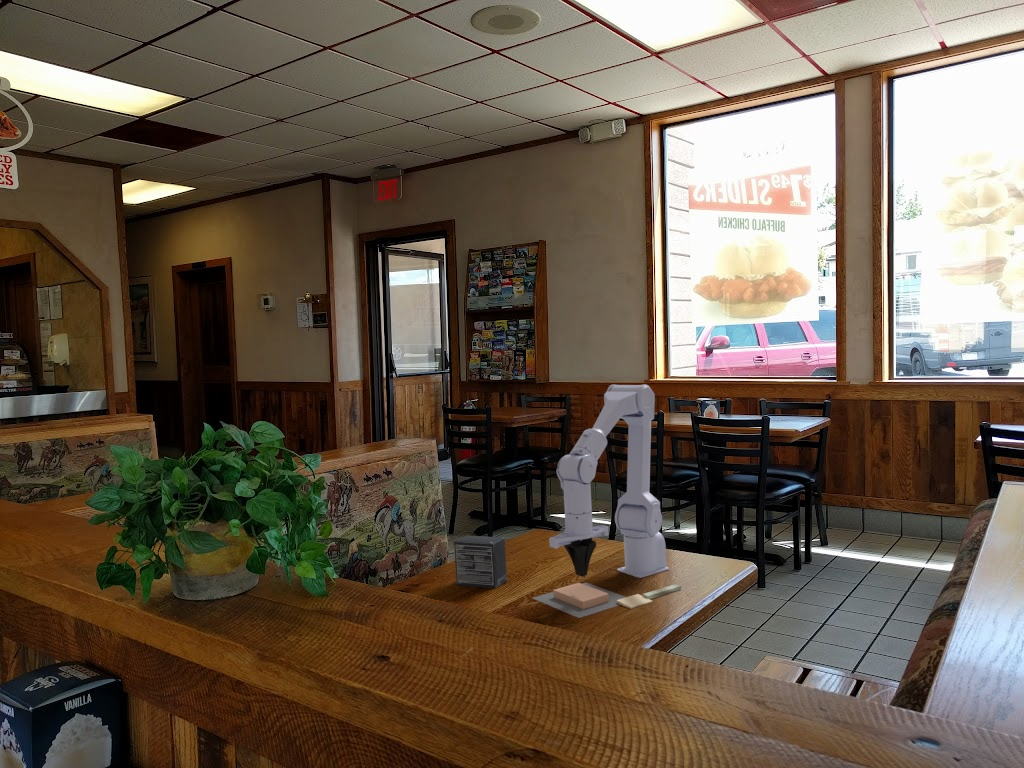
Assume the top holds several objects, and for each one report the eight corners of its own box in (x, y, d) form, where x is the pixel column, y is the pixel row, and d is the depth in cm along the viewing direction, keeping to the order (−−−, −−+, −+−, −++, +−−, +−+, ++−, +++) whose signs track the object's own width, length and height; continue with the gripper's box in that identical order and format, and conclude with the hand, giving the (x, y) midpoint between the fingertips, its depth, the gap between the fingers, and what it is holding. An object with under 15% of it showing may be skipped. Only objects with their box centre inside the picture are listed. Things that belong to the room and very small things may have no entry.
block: (578, 582, 171) (553, 589, 168) (609, 593, 163) (583, 601, 159) (579, 590, 172) (553, 597, 168) (609, 601, 163) (583, 609, 159)
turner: (671, 586, 171) (671, 581, 171) (686, 592, 167) (686, 588, 167) (616, 602, 162) (616, 597, 162) (631, 609, 158) (631, 605, 158)
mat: (585, 583, 177) (585, 582, 176) (634, 601, 163) (634, 600, 163) (531, 599, 168) (531, 597, 168) (579, 619, 155) (578, 617, 155)
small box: (508, 580, 182) (506, 536, 181) (496, 589, 176) (493, 544, 175) (468, 577, 186) (466, 533, 186) (455, 585, 180) (452, 541, 180)
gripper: (592, 503, 172) (595, 563, 173) (539, 514, 164) (542, 578, 165) (613, 507, 166) (616, 570, 167) (559, 520, 158) (563, 585, 159)
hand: (581, 574), depth 165 cm, fingers closed
